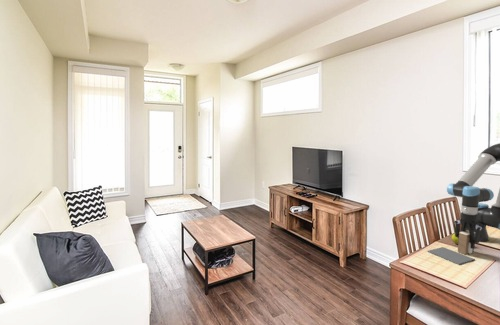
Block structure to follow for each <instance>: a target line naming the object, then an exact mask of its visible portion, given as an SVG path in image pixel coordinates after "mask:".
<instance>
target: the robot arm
mask: <svg viewBox="0 0 500 325" xmlns="http://www.w3.org/2000/svg"><path fill="white" fill-rule="evenodd" d="M497 162H500V143H496V144H493V145H490V146H489V147H487V148H485V149H484V150H482V152H480V153H479V155H478V158H477V160H476V161H475V162H474V163H472V165H471V166H470V167H469V168H468V169H467V170H466V172H465V173H463V175H462V176H461V177H460V178H459V180H458V181H457V182H456V183H449V184H448V185H447V187H446V192H447V194H449V195H450V196H453V197H458V198H461V206H460V208H461V209H460V211H461V212H460V219H457V220H454V223H455V226H454V227H455V228H454V234H455V237H457V238H458V242H459V232H463V231H466V230H468V231H469V234H470V242H469V247H468V253H469V255H470V254H473V252H472V249H473V248H474V249H475V246H476V245H475V244H480V242H488V241H489V236H490V235H489V233H488V230H487V227H490V228H493V229H497V230H500V188H499V189H498V193H497V197H496V201H495V203H494V204H492V205H491V206H489V204H487V203H483V202H489V201H492V200H493V199H494V197H495V194H494V191H492V189H490V188H487V187H486V188H484V187H483V188H480V187H478V186H474V185H475V184H476V182H478V180H479V179H480V178H481V177H482V176H483V175H484V174H485V173H486V171H487V170H488V169H489V168H490V167H491V166H492V165H495V164H496V163H497ZM474 232H475V235H474Z"/></svg>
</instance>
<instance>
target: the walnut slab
mask: <svg viewBox="0 0 500 325" xmlns="http://www.w3.org/2000/svg"><path fill="white" fill-rule="evenodd" d="M474 235H475V232H474ZM469 242H470V234H469V231H468V230H466V231H463V232H459V242H458V244H457V253H460V254H463V255H467V254H469V253H468V247H469ZM474 249H475V247H474V248H473V249H472V253H474V252H475V250H474ZM469 255H470V254H469Z"/></svg>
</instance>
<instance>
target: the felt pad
mask: <svg viewBox="0 0 500 325" xmlns="http://www.w3.org/2000/svg"><path fill="white" fill-rule="evenodd" d="M427 252H428V253H430V254H432V255H434V256H437V257H439V258H441V259H444V260H446V261H448V260H449V261H448V262H451V263H454V264H457V265H458V266H459V265H463V264H466V263H470V262H473V261H475V258H473V257H470V256H468V255H466V254H462V253H460V252H458V251H455V250H451V249H449V248H448V247H447V248H446V247H444V246H441V247H437V248H433V249H430V250H429V249H428V250H427ZM472 260H473V261H472Z"/></svg>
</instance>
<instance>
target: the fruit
mask: <svg viewBox="0 0 500 325" xmlns="http://www.w3.org/2000/svg"><path fill="white" fill-rule="evenodd" d="M451 241H452V243H454V244H456V245H458V238H457V237H455V233H453V234H452V235H451Z"/></svg>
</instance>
